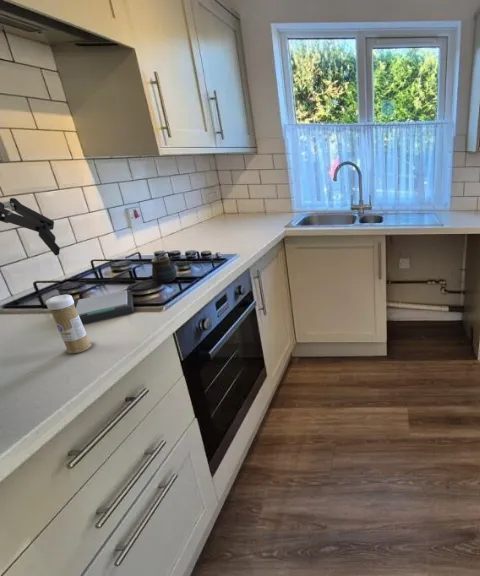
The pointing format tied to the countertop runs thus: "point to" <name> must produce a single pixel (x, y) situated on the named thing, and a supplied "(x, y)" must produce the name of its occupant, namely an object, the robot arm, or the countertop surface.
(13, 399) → the countertop surface
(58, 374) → the countertop surface
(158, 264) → the mate gourd
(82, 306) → the scale
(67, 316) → the sprinkles bottle
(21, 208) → the robot arm
